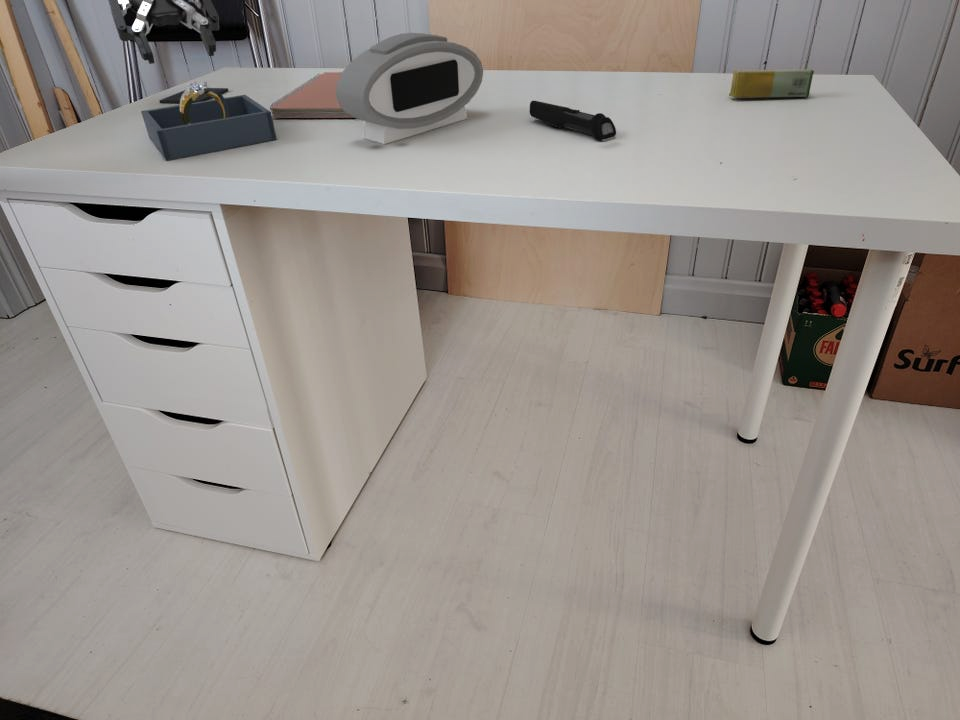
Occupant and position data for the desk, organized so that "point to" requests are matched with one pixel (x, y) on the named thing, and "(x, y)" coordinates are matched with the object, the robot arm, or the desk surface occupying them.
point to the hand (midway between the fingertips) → (182, 56)
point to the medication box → (771, 83)
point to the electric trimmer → (574, 120)
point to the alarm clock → (409, 85)
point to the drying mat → (200, 98)
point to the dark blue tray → (208, 127)
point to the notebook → (311, 100)
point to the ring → (195, 92)
